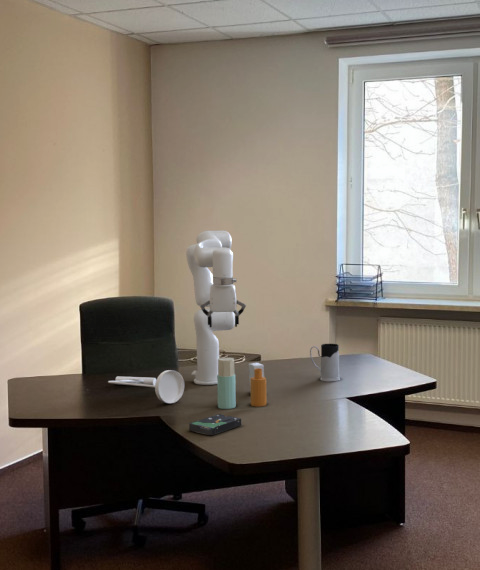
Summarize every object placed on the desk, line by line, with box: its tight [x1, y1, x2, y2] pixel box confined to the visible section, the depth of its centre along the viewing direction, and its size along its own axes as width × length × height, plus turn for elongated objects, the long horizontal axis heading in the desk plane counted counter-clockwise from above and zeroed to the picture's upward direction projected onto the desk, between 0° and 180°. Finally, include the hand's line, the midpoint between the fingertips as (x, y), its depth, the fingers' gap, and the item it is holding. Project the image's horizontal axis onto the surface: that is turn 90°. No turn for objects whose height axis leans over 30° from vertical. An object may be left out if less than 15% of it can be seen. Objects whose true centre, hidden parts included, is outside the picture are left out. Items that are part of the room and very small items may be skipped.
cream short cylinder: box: [218, 357, 235, 377], centre depth 273 cm, size 6×6×6 cm
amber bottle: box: [249, 368, 267, 408], centre depth 276 cm, size 6×6×14 cm
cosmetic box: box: [248, 362, 265, 394], centre depth 293 cm, size 6×4×12 cm
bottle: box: [216, 373, 237, 410], centre depth 274 cm, size 7×7×16 cm
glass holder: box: [309, 343, 341, 382], centre depth 321 cm, size 9×14×15 cm, turn 58°
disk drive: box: [188, 413, 242, 436], centre depth 245 cm, size 10×3×15 cm
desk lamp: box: [107, 369, 185, 404], centre depth 298 cm, size 12×22×45 cm
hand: (223, 326), depth 281 cm, fingers open, 9 cm apart
